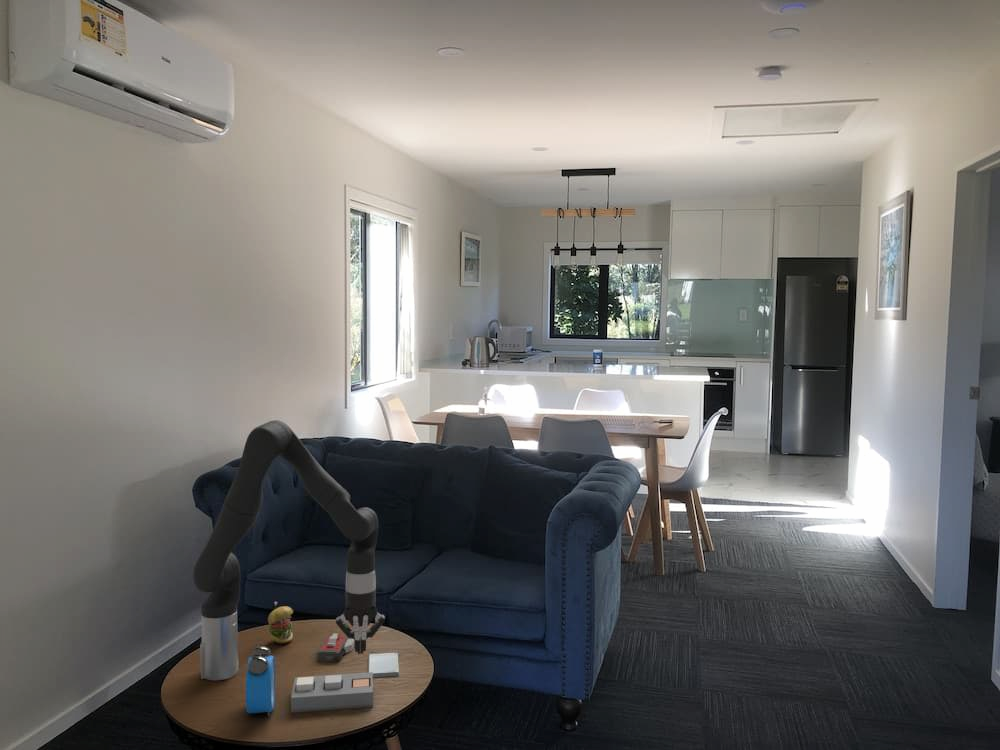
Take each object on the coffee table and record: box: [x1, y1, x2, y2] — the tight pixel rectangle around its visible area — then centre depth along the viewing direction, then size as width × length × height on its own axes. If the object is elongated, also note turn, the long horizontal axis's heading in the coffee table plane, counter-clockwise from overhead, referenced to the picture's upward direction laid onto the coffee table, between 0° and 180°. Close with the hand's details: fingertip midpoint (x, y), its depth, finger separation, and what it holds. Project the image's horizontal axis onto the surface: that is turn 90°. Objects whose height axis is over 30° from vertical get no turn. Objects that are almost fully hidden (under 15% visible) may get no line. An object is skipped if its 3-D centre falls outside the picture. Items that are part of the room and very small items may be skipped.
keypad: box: [290, 671, 374, 713], centre depth 205 cm, size 20×11×4 cm, turn 99°
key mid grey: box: [325, 674, 342, 690], centre depth 205 cm, size 4×4×3 cm
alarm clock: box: [245, 644, 276, 717], centre depth 199 cm, size 13×6×15 cm, turn 11°
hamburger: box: [267, 601, 294, 644], centre depth 240 cm, size 8×7×12 cm
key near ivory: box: [296, 676, 314, 692], centre depth 204 cm, size 4×4×3 cm
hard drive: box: [368, 652, 400, 678], centre depth 224 cm, size 2×8×12 cm
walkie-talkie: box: [316, 633, 355, 662], centre depth 236 cm, size 9×4×20 cm
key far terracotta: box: [353, 679, 369, 688], centre depth 206 cm, size 4×4×3 cm
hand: (360, 652), depth 206 cm, fingers closed
